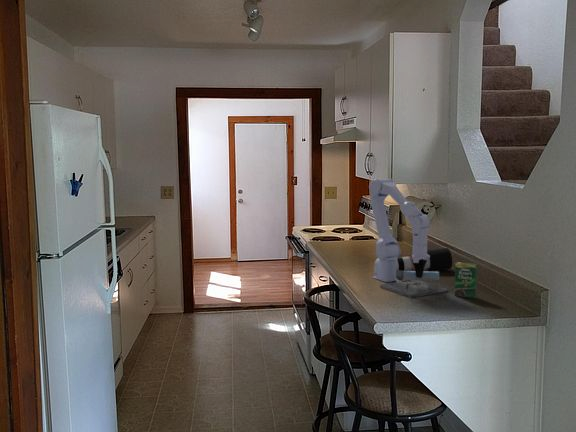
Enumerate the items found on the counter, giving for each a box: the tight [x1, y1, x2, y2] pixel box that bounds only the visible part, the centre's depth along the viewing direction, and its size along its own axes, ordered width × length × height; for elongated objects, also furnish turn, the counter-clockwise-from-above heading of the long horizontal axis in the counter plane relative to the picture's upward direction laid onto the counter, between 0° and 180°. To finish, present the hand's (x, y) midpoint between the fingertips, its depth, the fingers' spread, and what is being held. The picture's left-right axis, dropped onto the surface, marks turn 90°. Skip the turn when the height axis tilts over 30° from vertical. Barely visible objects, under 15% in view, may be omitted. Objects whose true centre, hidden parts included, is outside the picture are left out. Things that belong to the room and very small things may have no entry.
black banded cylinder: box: [396, 247, 453, 272], centre depth 250 cm, size 10×34×10 cm, turn 96°
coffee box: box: [454, 261, 478, 299], centre depth 207 cm, size 8×3×13 cm, turn 58°
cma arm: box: [396, 270, 440, 280], centre depth 222 cm, size 18×3×3 cm, turn 84°
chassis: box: [379, 279, 448, 299], centre depth 218 cm, size 18×19×3 cm
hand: (419, 277), depth 220 cm, fingers closed, pressing on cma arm
